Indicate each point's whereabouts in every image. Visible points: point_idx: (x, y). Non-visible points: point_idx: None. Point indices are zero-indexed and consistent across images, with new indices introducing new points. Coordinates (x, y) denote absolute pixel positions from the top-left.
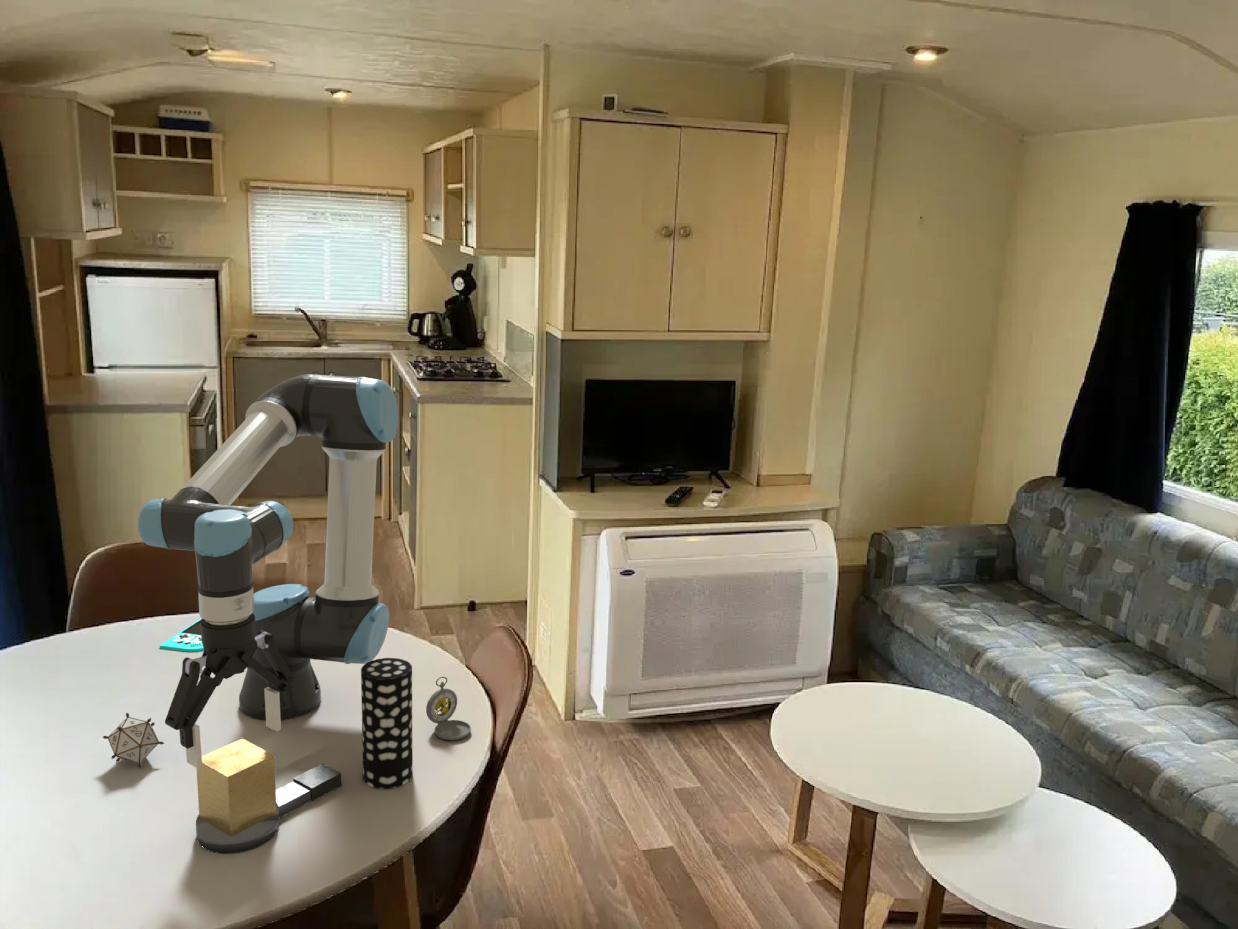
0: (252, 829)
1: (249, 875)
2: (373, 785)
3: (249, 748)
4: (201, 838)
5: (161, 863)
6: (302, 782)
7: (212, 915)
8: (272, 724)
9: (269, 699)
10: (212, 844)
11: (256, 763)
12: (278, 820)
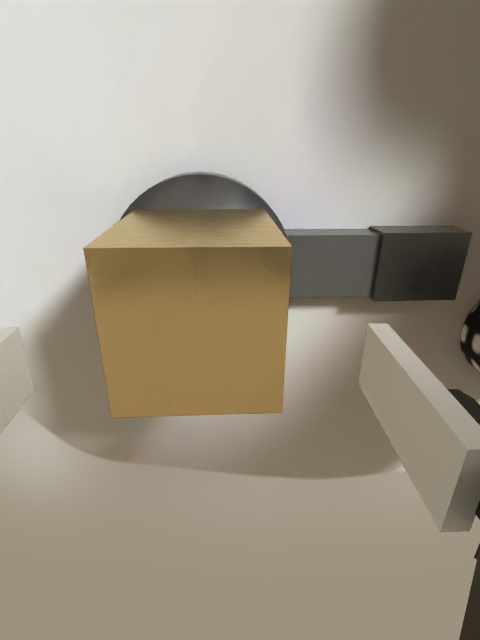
0: None
1: None
2: (463, 342)
3: (260, 328)
4: None
5: (32, 239)
6: (380, 266)
7: (48, 421)
8: (369, 372)
9: (425, 443)
10: None
11: (216, 413)
12: None
